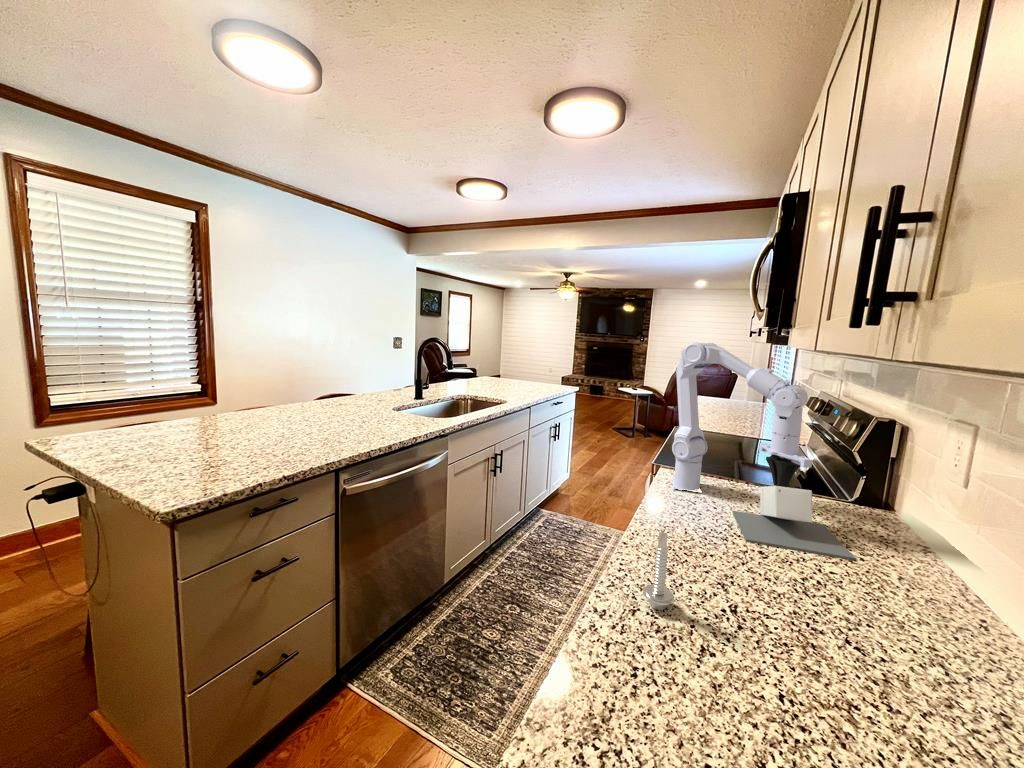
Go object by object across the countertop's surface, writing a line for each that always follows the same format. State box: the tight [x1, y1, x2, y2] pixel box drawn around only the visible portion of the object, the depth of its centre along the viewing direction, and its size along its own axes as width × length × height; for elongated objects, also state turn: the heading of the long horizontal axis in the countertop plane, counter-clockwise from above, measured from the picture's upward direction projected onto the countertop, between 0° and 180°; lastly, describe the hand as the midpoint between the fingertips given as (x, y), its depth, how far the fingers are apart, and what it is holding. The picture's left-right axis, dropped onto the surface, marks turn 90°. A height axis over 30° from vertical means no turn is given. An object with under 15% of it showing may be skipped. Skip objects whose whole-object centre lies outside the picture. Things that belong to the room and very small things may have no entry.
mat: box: [731, 510, 856, 561], centre depth 92 cm, size 16×20×1 cm
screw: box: [642, 531, 675, 611], centre depth 65 cm, size 13×5×5 cm
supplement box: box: [759, 485, 813, 523], centre depth 96 cm, size 7×7×13 cm
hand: (780, 486), depth 99 cm, fingers closed
